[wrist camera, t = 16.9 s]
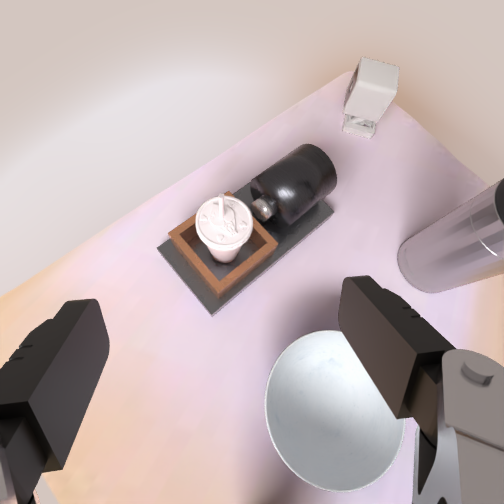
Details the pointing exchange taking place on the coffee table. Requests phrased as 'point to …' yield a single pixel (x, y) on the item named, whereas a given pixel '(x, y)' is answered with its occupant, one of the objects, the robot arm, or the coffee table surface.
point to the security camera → (369, 96)
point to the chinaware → (330, 415)
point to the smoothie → (224, 226)
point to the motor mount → (257, 227)
